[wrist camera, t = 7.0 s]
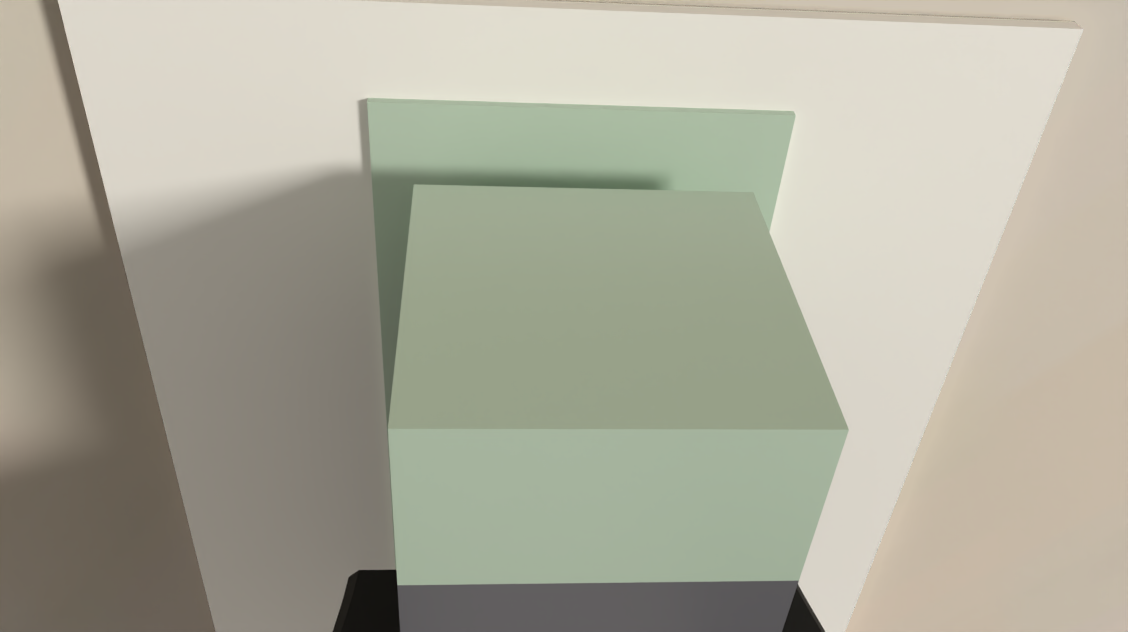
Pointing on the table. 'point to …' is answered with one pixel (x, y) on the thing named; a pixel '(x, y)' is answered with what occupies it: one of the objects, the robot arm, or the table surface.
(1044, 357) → the table surface
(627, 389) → the block
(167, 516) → the table surface
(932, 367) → the paper sheet
